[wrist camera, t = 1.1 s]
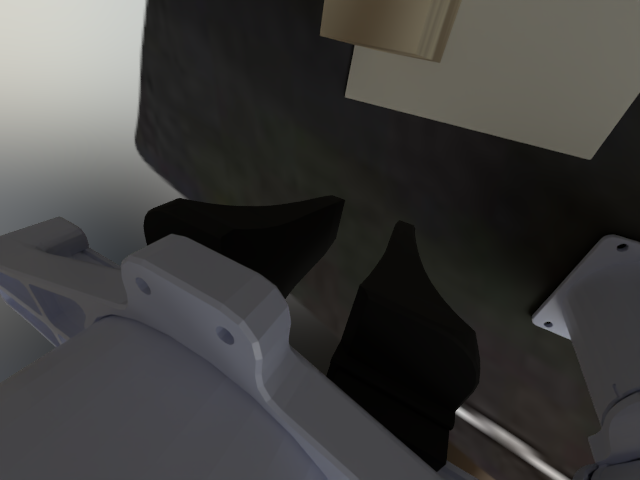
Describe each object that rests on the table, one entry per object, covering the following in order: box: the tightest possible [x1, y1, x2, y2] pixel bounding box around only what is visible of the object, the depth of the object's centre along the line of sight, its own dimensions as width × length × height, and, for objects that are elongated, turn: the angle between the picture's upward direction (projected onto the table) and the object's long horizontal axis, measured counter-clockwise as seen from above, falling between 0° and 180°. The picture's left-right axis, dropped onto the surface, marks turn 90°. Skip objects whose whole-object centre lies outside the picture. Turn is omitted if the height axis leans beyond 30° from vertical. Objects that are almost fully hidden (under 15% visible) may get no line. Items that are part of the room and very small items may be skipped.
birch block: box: [320, 0, 462, 63], centre depth 13 cm, size 4×4×8 cm
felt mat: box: [345, 0, 640, 160], centre depth 15 cm, size 15×10×1 cm, turn 79°
